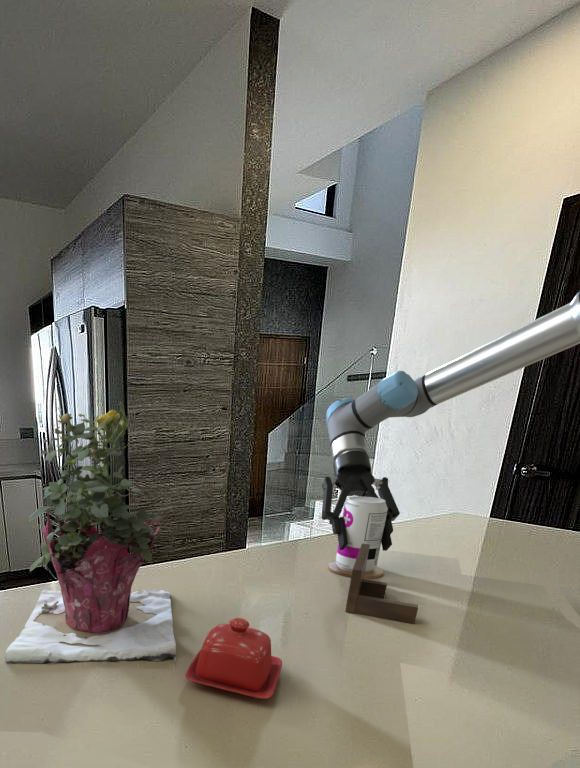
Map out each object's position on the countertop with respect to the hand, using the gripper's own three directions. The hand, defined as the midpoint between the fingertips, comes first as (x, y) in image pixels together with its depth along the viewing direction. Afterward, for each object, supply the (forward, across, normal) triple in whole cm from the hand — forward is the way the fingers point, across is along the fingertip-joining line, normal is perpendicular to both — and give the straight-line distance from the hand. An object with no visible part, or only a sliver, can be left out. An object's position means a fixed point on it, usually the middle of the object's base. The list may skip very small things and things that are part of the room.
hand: (365, 547), depth 100 cm
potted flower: (+24, +53, +15) cm, 60 cm away
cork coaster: (+2, 0, -7) cm, 7 cm away
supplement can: (+2, 0, -6) cm, 7 cm away
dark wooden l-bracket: (+14, +1, +5) cm, 15 cm away
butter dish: (+34, +32, +25) cm, 54 cm away
